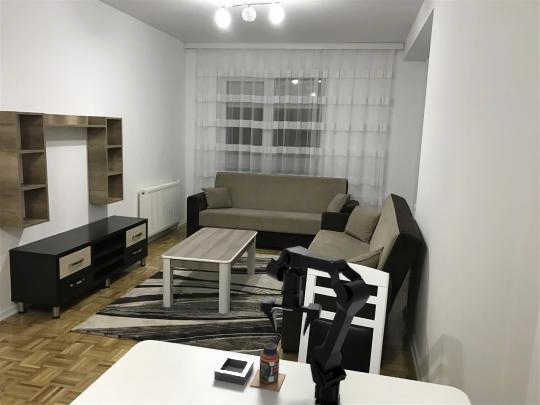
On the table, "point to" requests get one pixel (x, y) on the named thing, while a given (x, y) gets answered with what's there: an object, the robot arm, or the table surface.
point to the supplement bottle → (269, 364)
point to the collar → (232, 376)
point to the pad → (273, 387)
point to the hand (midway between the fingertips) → (289, 333)
